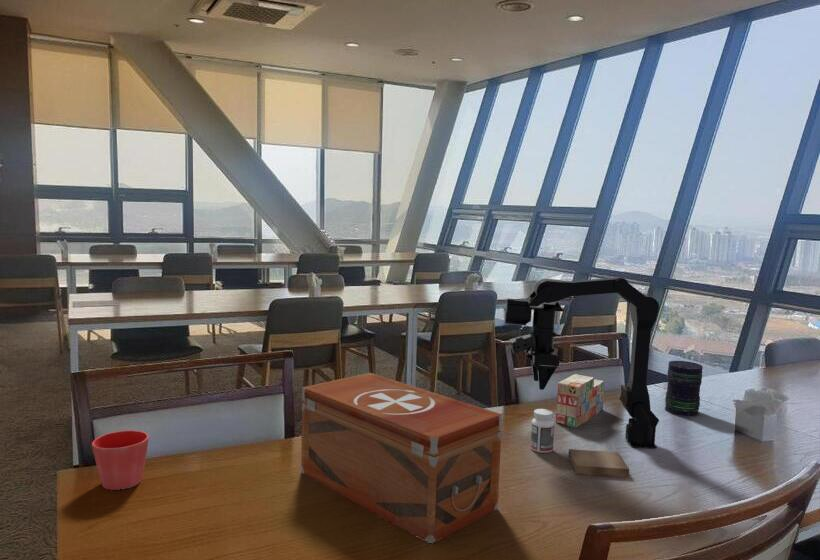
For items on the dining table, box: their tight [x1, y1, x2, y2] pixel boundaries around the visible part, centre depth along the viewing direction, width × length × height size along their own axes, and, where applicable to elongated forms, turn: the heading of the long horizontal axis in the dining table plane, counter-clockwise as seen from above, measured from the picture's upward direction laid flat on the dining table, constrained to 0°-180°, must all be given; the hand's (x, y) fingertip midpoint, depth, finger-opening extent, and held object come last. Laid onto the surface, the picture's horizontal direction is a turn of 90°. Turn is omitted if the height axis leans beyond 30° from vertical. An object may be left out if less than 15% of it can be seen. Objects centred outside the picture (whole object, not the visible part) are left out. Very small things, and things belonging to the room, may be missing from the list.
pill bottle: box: [530, 408, 555, 454], centre depth 157 cm, size 6×6×10 cm
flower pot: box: [91, 430, 150, 491], centre depth 131 cm, size 11×11×10 cm
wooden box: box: [300, 372, 503, 544], centre depth 131 cm, size 20×41×20 cm, turn 45°
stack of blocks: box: [555, 373, 605, 429], centre depth 184 cm, size 21×6×12 cm, turn 143°
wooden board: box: [567, 448, 630, 478], centre depth 148 cm, size 12×10×2 cm
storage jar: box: [664, 360, 703, 418], centre depth 191 cm, size 10×10×15 cm
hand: (538, 385), depth 164 cm, fingers open, 9 cm apart
